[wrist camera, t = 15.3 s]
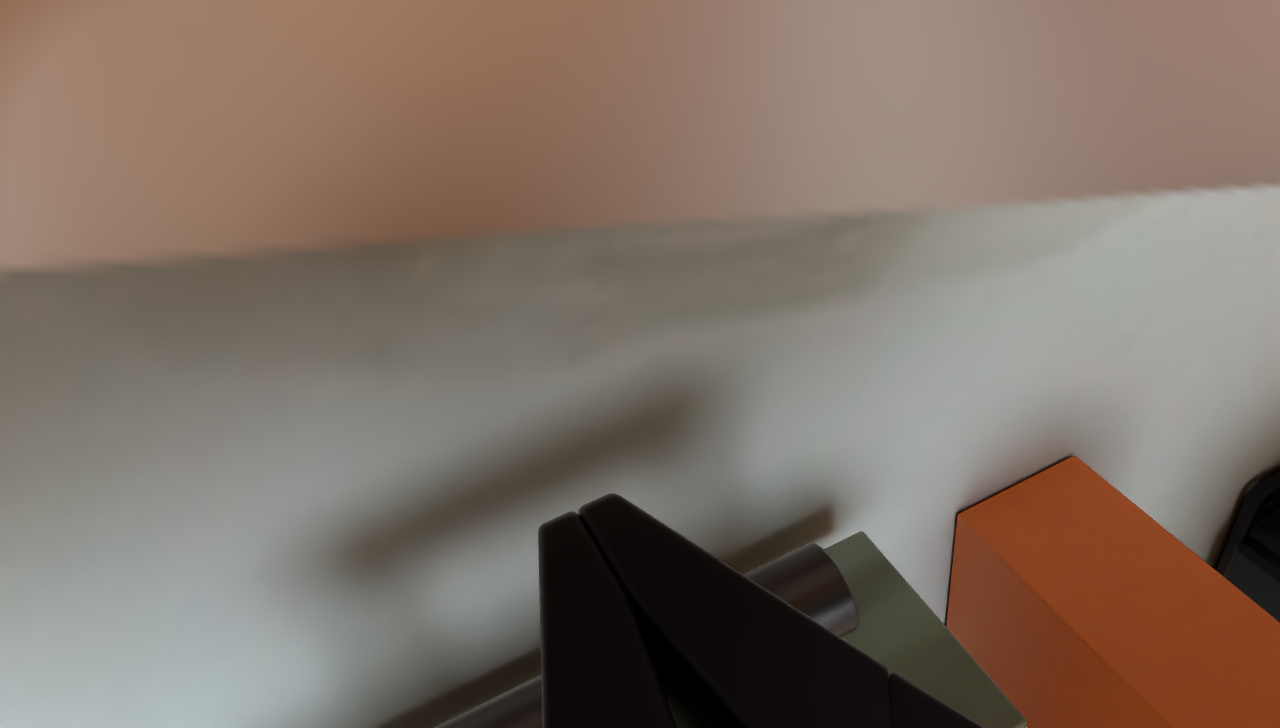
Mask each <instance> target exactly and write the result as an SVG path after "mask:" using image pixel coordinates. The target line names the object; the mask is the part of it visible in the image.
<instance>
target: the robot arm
mask: <svg viewBox="0 0 1280 728" xmlns="http://www.w3.org/2000/svg"><path fill="white" fill-rule="evenodd" d="M538 545H539V590H540V635H541V679H542V724H543V728H986V727H984V726H982V725H980V724H979V723H977V722H975V721H974V720H972V719H970V718H969V717H967V716H965V715H964V714H962V713H960V712H959V711H957V710H955V709H954V708H952V707H950V706H949V705H947V704H945V703H944V702H942V701H940V700H939V699H937V698H935V697H934V696H932V695H930V694H929V693H927V692H926V691H924V690H923V689H921V688H920V687H918V686H917V685H915V684H913V683H912V682H910V681H909V680H907V679H906V678H904V677H903V676H901V675H899V674H898V673H896V672H892V673H891V674H890V676H889V670H888V668H887V667H886V666H885V665H883V664H882V663H880V662H879V661H877V660H875V659H874V658H872V657H871V656H869V655H868V654H866V653H864V652H863V651H861V650H860V649H858V648H857V647H855V646H854V645H852V644H850V643H849V642H847V641H846V640H844V639H843V638H841V637H840V636H838V635H836V634H835V633H833V632H832V631H830V630H829V629H827V628H825V627H824V626H822V625H821V624H819V623H818V622H816V621H815V620H813V619H811V618H810V617H808V616H807V615H805V614H804V613H802V612H801V611H799V610H797V609H796V608H794V607H793V606H791V605H790V604H788V603H786V602H785V601H783V600H782V599H780V598H779V597H777V596H776V595H774V594H772V593H771V592H769V591H768V590H766V589H765V588H763V587H762V586H760V585H758V584H757V583H755V582H754V581H752V580H751V579H749V578H747V577H746V576H744V575H743V574H741V573H740V572H738V571H737V570H735V569H733V568H732V567H730V566H729V565H727V564H726V563H724V562H723V561H721V560H719V559H718V558H716V557H715V556H713V555H712V554H710V553H708V552H707V551H705V550H704V549H702V548H701V547H699V546H698V545H696V544H694V543H693V542H691V541H690V540H688V539H687V538H685V537H684V536H682V535H680V534H679V533H677V532H676V531H674V530H673V529H671V528H669V527H668V526H666V525H665V524H663V523H662V522H660V521H659V520H657V519H655V518H654V517H652V516H651V515H649V514H648V513H646V512H645V511H643V510H641V509H640V508H638V507H637V506H635V505H634V504H632V503H630V502H629V501H627V500H626V499H624V498H623V497H621V496H619V495H617V494H607V495H605V496H603V497H601V498H599V499H596V500H594V501H592V502H590V503H587V504H585V505H583V506H582V507H581V508H580V509H579V513H578V514H577V513H576V512H572V511H571V512H568V513H565V514H563V515H561V516H559V517H557V518H554V519H552V520H550V521H548V522H546V523H544V524H542V525H541V526H540V528H539V531H538ZM1216 571H1217V572H1218V573H1219V574H1221V575H1222V576H1223V577H1224V578H1226V579H1227V580H1228V581H1229V582H1230V583H1232V584H1233V585H1234V586H1235V587H1237V588H1238V589H1239V590H1240V591H1241V592H1243V593H1244V594H1245V595H1246V596H1248V597H1249V598H1250V599H1251V600H1252V601H1254V602H1255V603H1256V604H1257V605H1259V606H1260V607H1261V608H1262V609H1263V610H1265V611H1266V612H1267V613H1268V614H1270V615H1271V616H1272V617H1273V618H1274V619H1276V620H1277V621H1278V622H1279V623H1280V471H1279V472H1277V473H1276V474H1274V475H1272V476H1270V477H1268V478H1266V479H1265V480H1263V481H1261V482H1260V483H1258V484H1257V485H1256V486H1255V487H1254V488H1253V489H1252V490H1251V491H1250V492H1249V493H1248V495H1247V497H1246V498H1245V501H1244V503H1243V506H1242V508H1241V511H1240V513H1239V516H1238V518H1237V520H1236V523H1235V525H1234V528H1233V530H1232V533H1231V535H1230V538H1229V540H1228V542H1227V545H1226V547H1225V550H1224V552H1223V555H1222V557H1221V560H1220V562H1219V565H1218V567H1217V569H1216Z"/></svg>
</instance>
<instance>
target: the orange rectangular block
mask: <svg viewBox="0 0 1280 728" xmlns="http://www.w3.org/2000/svg"><path fill="white" fill-rule="evenodd" d="M946 627H947V629H948V630H949V631H950V632H951V633H952V634H953V636H954V637H955V638H956V639H957V640H958V641H959V642H960V644H961V645H962V646H963V647H964V648H965V649H966V650H967V652H968V653H969V654H970V655H971V656H972V657H973V659H974V660H975V661H976V662H977V663H978V664H979V665H980V667H981V668H982V669H983V670H984V671H985V672H986V673H987V675H988V676H989V677H990V678H991V679H992V680H993V682H994V683H995V684H996V685H997V686H998V687H999V688H1000V690H1001V691H1002V692H1003V693H1004V694H1005V695H1006V697H1007V698H1008V699H1009V700H1010V701H1011V702H1012V703H1013V705H1014V706H1015V707H1016V708H1017V709H1018V710H1019V711H1020V713H1021V714H1022V715H1023V716H1024V717H1025V718H1026V721H1027V725H1026V727H1027V728H1280V623H1279V622H1278V621H1277V620H1276V619H1274V618H1273V617H1272V616H1271V615H1270V614H1268V613H1267V612H1266V611H1265V610H1263V609H1262V608H1261V607H1260V606H1259V605H1257V604H1256V603H1255V602H1254V601H1252V600H1251V599H1250V598H1249V597H1248V596H1246V595H1245V594H1244V593H1243V592H1241V591H1240V590H1239V589H1238V588H1237V587H1235V586H1234V585H1233V584H1232V583H1230V582H1229V581H1228V580H1227V579H1226V578H1224V577H1223V576H1222V575H1221V574H1219V573H1218V572H1217V571H1216V570H1215V569H1213V568H1212V567H1211V566H1210V565H1208V564H1207V563H1206V562H1205V561H1204V560H1202V559H1201V558H1200V557H1199V556H1197V555H1196V554H1195V553H1194V552H1193V551H1191V550H1190V549H1189V548H1188V547H1186V546H1185V545H1184V544H1183V543H1182V542H1180V541H1179V540H1178V539H1177V538H1175V537H1174V536H1173V535H1172V534H1171V533H1169V532H1168V531H1167V530H1166V529H1164V528H1163V527H1162V526H1161V525H1160V524H1158V523H1157V522H1156V521H1155V520H1153V519H1152V518H1151V517H1150V516H1148V515H1147V514H1146V513H1145V512H1144V511H1142V510H1141V509H1140V508H1139V507H1137V506H1136V505H1135V504H1134V503H1133V502H1131V501H1130V500H1129V499H1128V498H1126V497H1125V496H1124V495H1123V494H1122V493H1120V492H1119V491H1118V490H1117V489H1115V488H1114V487H1113V486H1112V485H1111V484H1109V483H1108V482H1107V481H1106V480H1104V479H1103V478H1102V477H1101V476H1100V475H1098V474H1097V473H1096V472H1095V471H1093V470H1092V469H1091V468H1090V467H1089V466H1087V465H1086V464H1085V463H1084V462H1082V461H1081V460H1080V459H1079V458H1078V457H1076V456H1072V457H1070V458H1068V459H1066V460H1064V461H1062V462H1060V463H1058V464H1056V465H1054V466H1052V467H1050V468H1048V469H1046V470H1044V471H1042V472H1040V473H1038V474H1036V475H1034V476H1033V477H1031V478H1029V479H1027V480H1025V481H1023V482H1021V483H1019V484H1017V485H1015V486H1013V487H1011V488H1009V489H1007V490H1005V491H1003V492H1001V493H999V494H997V495H995V496H993V497H991V498H989V499H987V500H985V501H983V502H981V503H979V504H977V505H975V506H973V507H971V508H969V509H967V510H965V511H963V512H961V513H960V514H959V515H958V516H957V526H956V536H955V546H954V555H953V565H952V575H951V585H950V595H949V605H948V614H947V624H946Z"/></svg>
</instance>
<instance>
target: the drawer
mask: <svg viewBox="0 0 1280 728" xmlns="http://www.w3.org/2000/svg"><path fill="white" fill-rule="evenodd" d="M744 576H746V577H747V578H749V579H751V580H752V581H754V582H755V583H757V584H758V585H760V586H762V587H763V588H765V589H766V590H768V591H769V592H771V593H772V594H774V595H776V596H777V597H779V598H780V599H782V600H783V601H785V602H786V603H788V604H790V605H791V606H793V607H794V608H796V609H797V610H799V611H801V612H802V613H804V614H805V615H807V616H808V617H810V618H811V619H813V620H815V621H816V622H818V623H819V624H821V625H822V626H824V627H825V628H827V629H829V630H830V631H832V632H833V633H835V634H836V635H838V636H840V637H841V638H843V639H844V640H846V641H847V642H849V643H850V644H852V645H854V646H855V647H857V648H858V649H860V650H861V651H863V652H864V653H866V654H868V655H869V656H871V657H872V658H874V659H875V660H877V661H879V662H880V663H882V664H883V665H885V666H886V667H887V668H888V670H889V676H890V674H891V673H892V672H896V673H898V674H899V675H901V676H903V677H904V678H906V679H907V680H909V681H910V682H912V683H913V684H915V685H917V686H918V687H920V688H921V689H923V690H924V691H926V692H927V693H929V694H930V695H932V696H934V697H935V698H937V699H939V700H940V701H942V702H944V703H945V704H947V705H949V706H950V707H952V708H954V709H955V710H957V711H959V712H960V713H962V714H964V715H965V716H967V717H969V718H970V719H972V720H974V721H975V722H977V723H979V724H980V725H982V726H984V727H986V728H1026V725H1027V721H1026V718H1025V717H1024V716H1023V715H1022V714H1021V713H1020V711H1019V710H1018V709H1017V708H1016V707H1015V706H1014V705H1013V703H1012V702H1011V701H1010V700H1009V699H1008V698H1007V697H1006V695H1005V694H1004V693H1003V692H1002V691H1001V690H1000V688H999V687H998V686H997V685H996V684H995V683H994V682H993V680H992V679H991V678H990V677H989V676H988V675H987V673H986V672H985V671H984V670H983V669H982V668H981V667H980V665H979V664H978V663H977V662H976V661H975V660H974V659H973V657H972V656H971V655H970V654H969V653H968V652H967V650H966V649H965V648H964V647H963V646H962V645H961V644H960V642H959V641H958V640H957V639H956V638H955V637H954V636H953V634H952V633H951V632H950V631H949V630H948V629H947V627H946V626H945V625H944V624H943V623H942V622H941V621H940V619H939V618H938V617H937V616H936V615H935V614H934V612H933V611H932V610H931V609H930V608H929V607H928V606H927V604H926V603H925V602H924V601H923V600H922V599H921V598H920V596H919V595H918V594H917V593H916V592H915V591H914V589H913V588H912V587H911V586H910V585H909V584H908V583H907V581H906V580H905V579H904V578H903V577H902V576H901V575H900V573H899V572H898V571H897V570H896V569H895V568H894V566H893V565H892V564H891V563H890V562H889V561H888V560H887V558H886V557H885V556H884V555H883V554H882V553H881V551H880V550H879V549H878V548H877V547H876V546H875V545H874V543H873V542H872V541H871V540H870V539H869V538H868V537H867V535H866V534H865V533H864V532H862V531H861V532H858V533H856V534H854V535H852V536H850V537H848V538H846V539H844V540H842V541H840V542H838V543H836V544H834V545H832V546H830V547H828V548H826V549H823V548H821V547H820V546H819V545H817V544H815V543H807V544H805V545H803V546H801V547H799V548H797V549H795V550H793V551H791V552H789V553H787V554H785V555H783V556H781V557H779V558H777V559H775V560H773V561H770V562H768V563H766V564H764V565H762V566H760V567H758V568H756V569H754V570H752V571H750V572H748V573H746V574H744ZM435 728H543V724H542V679H541V675H540V676H538V677H536V678H534V679H532V680H530V681H528V682H526V683H524V684H522V685H520V686H518V687H516V688H513V689H511V690H509V691H507V692H505V693H503V694H501V695H499V696H497V697H495V698H493V699H491V700H489V701H487V702H485V703H483V704H481V705H479V706H477V707H475V708H473V709H471V710H469V711H467V712H465V713H463V714H461V715H459V716H457V717H455V718H453V719H451V720H449V721H447V722H445V723H443V724H441V725H439V726H437V727H435Z"/></svg>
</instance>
